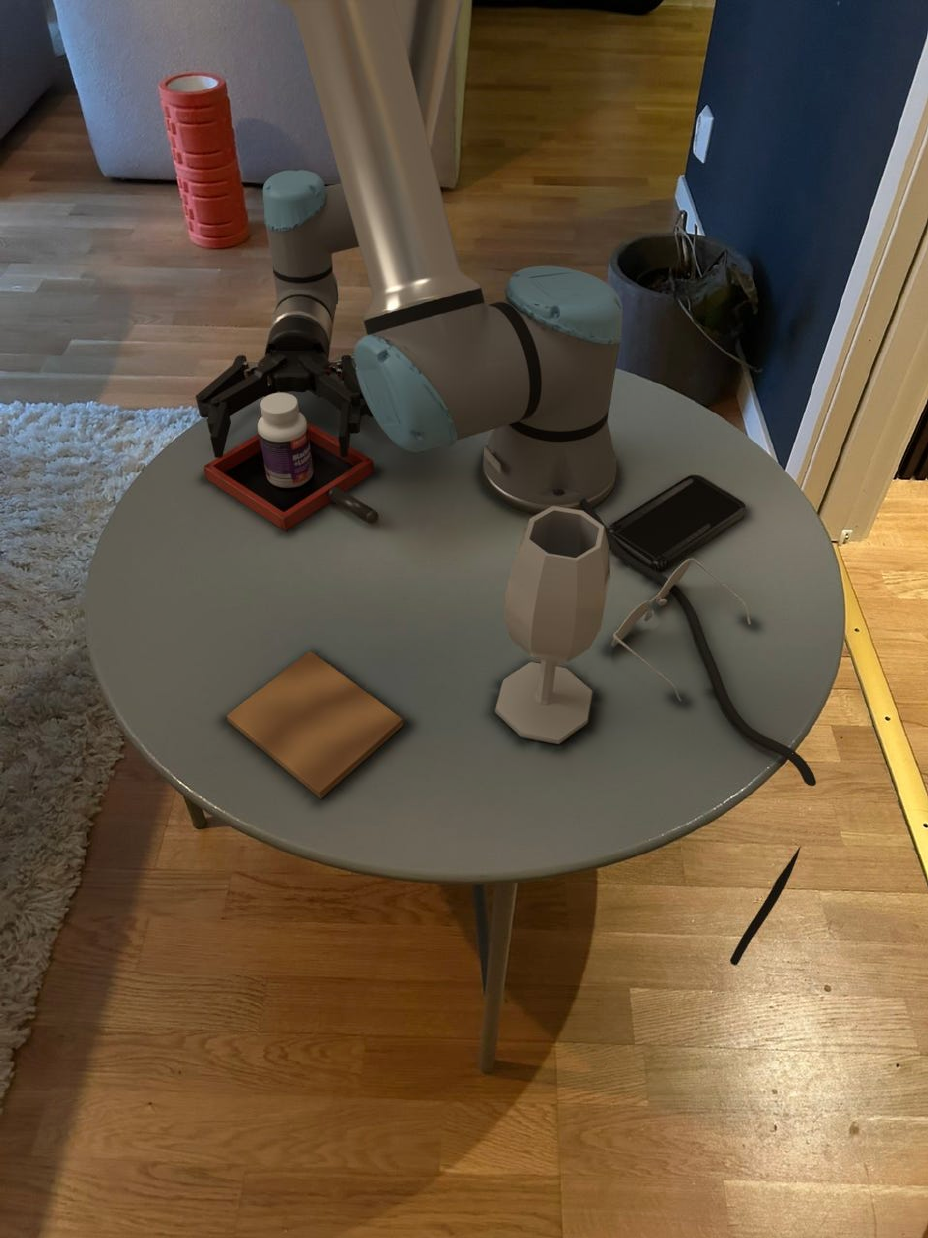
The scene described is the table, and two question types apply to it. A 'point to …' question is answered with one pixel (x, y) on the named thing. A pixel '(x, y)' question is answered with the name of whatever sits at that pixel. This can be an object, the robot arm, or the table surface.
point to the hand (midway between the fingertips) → (279, 447)
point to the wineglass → (554, 621)
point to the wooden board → (315, 723)
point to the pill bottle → (284, 441)
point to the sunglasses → (642, 608)
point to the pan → (289, 506)
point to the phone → (676, 522)
